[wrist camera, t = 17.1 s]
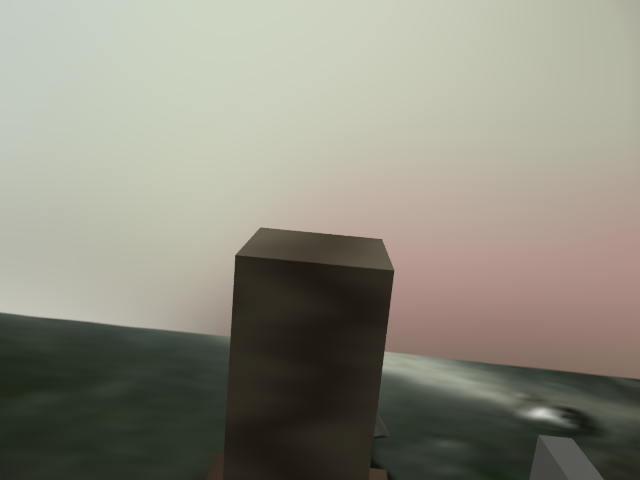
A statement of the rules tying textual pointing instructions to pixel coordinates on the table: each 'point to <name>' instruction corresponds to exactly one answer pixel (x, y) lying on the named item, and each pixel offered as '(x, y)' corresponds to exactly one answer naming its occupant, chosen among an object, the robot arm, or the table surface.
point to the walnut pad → (216, 470)
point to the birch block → (306, 356)
